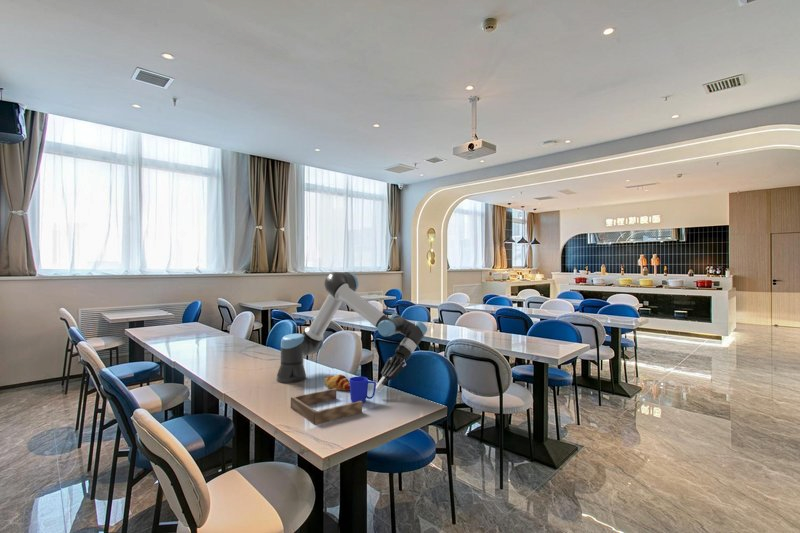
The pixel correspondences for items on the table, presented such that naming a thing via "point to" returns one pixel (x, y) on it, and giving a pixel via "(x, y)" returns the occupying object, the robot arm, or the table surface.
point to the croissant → (337, 382)
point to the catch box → (325, 415)
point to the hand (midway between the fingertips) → (377, 389)
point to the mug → (360, 389)
